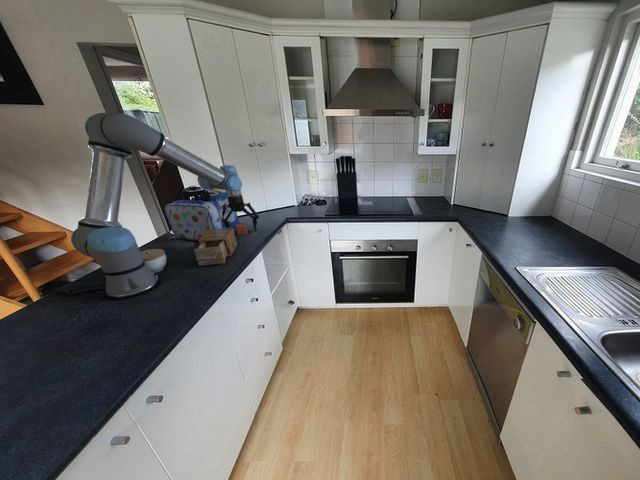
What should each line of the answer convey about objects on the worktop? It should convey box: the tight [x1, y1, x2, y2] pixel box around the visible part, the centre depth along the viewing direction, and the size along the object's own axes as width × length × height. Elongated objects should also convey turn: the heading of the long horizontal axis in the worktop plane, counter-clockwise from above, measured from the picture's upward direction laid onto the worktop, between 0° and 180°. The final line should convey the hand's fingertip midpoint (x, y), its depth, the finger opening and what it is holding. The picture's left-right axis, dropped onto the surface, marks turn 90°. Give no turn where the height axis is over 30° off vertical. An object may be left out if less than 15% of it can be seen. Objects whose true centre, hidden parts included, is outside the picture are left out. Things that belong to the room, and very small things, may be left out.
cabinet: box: [198, 227, 238, 258], centre depth 134 cm, size 15×12×10 cm
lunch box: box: [163, 199, 224, 241], centre depth 146 cm, size 28×10×22 cm, turn 85°
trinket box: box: [140, 248, 167, 274], centre depth 116 cm, size 11×11×9 cm
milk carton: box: [208, 191, 240, 228], centre depth 164 cm, size 10×6×20 cm, turn 148°
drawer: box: [193, 240, 228, 267], centre depth 124 cm, size 18×10×8 cm, turn 15°
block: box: [235, 222, 249, 236], centre depth 158 cm, size 5×5×5 cm
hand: (243, 231), depth 158 cm, fingers open, 13 cm apart
